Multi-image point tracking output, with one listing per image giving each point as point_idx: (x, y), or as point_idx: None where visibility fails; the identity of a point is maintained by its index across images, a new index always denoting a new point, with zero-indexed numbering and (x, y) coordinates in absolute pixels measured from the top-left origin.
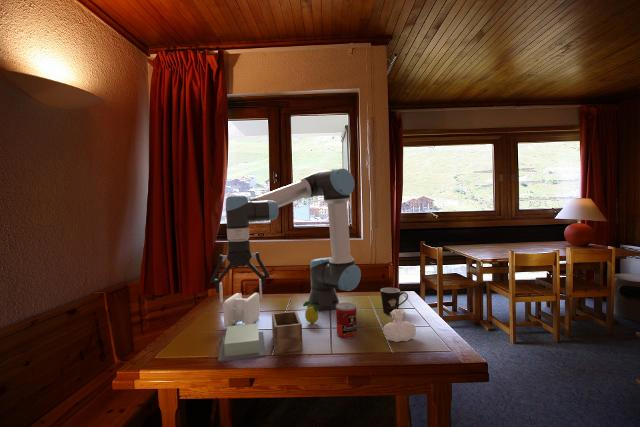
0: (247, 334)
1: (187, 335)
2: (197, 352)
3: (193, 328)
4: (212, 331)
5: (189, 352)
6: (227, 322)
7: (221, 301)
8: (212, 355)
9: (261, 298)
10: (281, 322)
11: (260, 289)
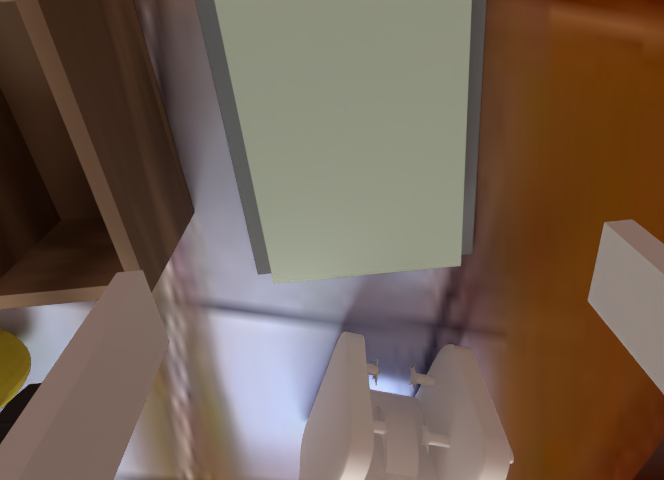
0: (314, 110)
1: None
2: (610, 78)
3: (615, 366)
4: (524, 323)
5: (655, 86)
6: (458, 356)
7: (624, 228)
8: (524, 17)
9: (123, 275)
10: (106, 250)
11: (77, 357)
